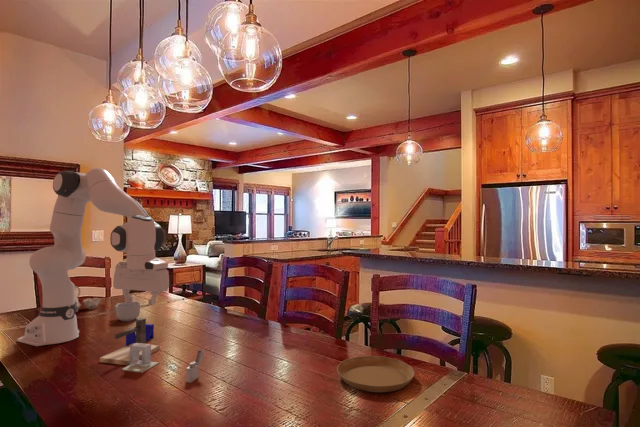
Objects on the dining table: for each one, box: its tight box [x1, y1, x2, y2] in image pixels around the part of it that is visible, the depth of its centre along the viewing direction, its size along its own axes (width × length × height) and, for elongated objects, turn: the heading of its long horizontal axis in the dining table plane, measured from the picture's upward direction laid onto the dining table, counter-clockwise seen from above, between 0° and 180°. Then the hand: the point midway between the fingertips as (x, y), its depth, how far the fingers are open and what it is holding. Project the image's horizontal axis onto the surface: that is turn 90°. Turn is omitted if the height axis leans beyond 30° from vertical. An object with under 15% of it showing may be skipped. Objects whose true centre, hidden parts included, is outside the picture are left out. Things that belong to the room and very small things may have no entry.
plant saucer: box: [336, 355, 415, 393], centre depth 117 cm, size 24×24×3 cm
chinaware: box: [75, 285, 102, 313], centre depth 201 cm, size 28×17×17 cm, turn 177°
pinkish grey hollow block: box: [130, 343, 152, 368], centre depth 126 cm, size 6×3×7 cm, turn 76°
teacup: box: [114, 301, 141, 322], centre depth 186 cm, size 14×11×8 cm
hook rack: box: [99, 317, 161, 366], centre depth 137 cm, size 12×16×12 cm
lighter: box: [185, 349, 206, 383], centre depth 118 cm, size 7×2×8 cm, turn 162°
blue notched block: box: [125, 323, 155, 346], centre depth 152 cm, size 12×4×6 cm, turn 164°
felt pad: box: [121, 361, 159, 374], centre depth 126 cm, size 8×8×1 cm
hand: (140, 303), depth 127 cm, fingers open, 8 cm apart
